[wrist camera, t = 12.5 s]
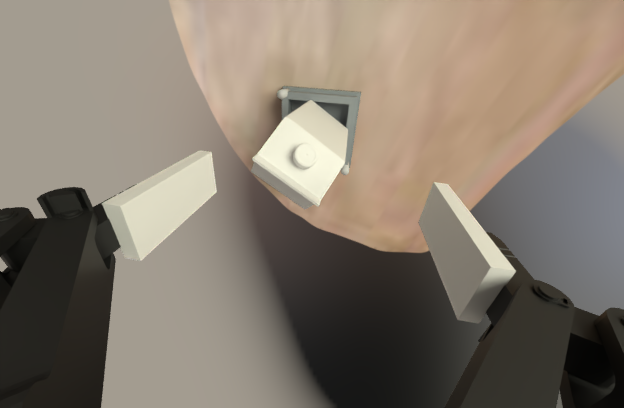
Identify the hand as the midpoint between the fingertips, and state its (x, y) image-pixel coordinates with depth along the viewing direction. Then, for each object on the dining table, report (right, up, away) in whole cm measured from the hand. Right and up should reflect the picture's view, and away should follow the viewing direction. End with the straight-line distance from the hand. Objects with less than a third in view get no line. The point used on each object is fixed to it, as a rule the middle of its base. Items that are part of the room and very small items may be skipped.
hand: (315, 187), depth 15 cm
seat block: (+1, +12, +26) cm, 28 cm away
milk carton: (0, +10, +23) cm, 25 cm away
